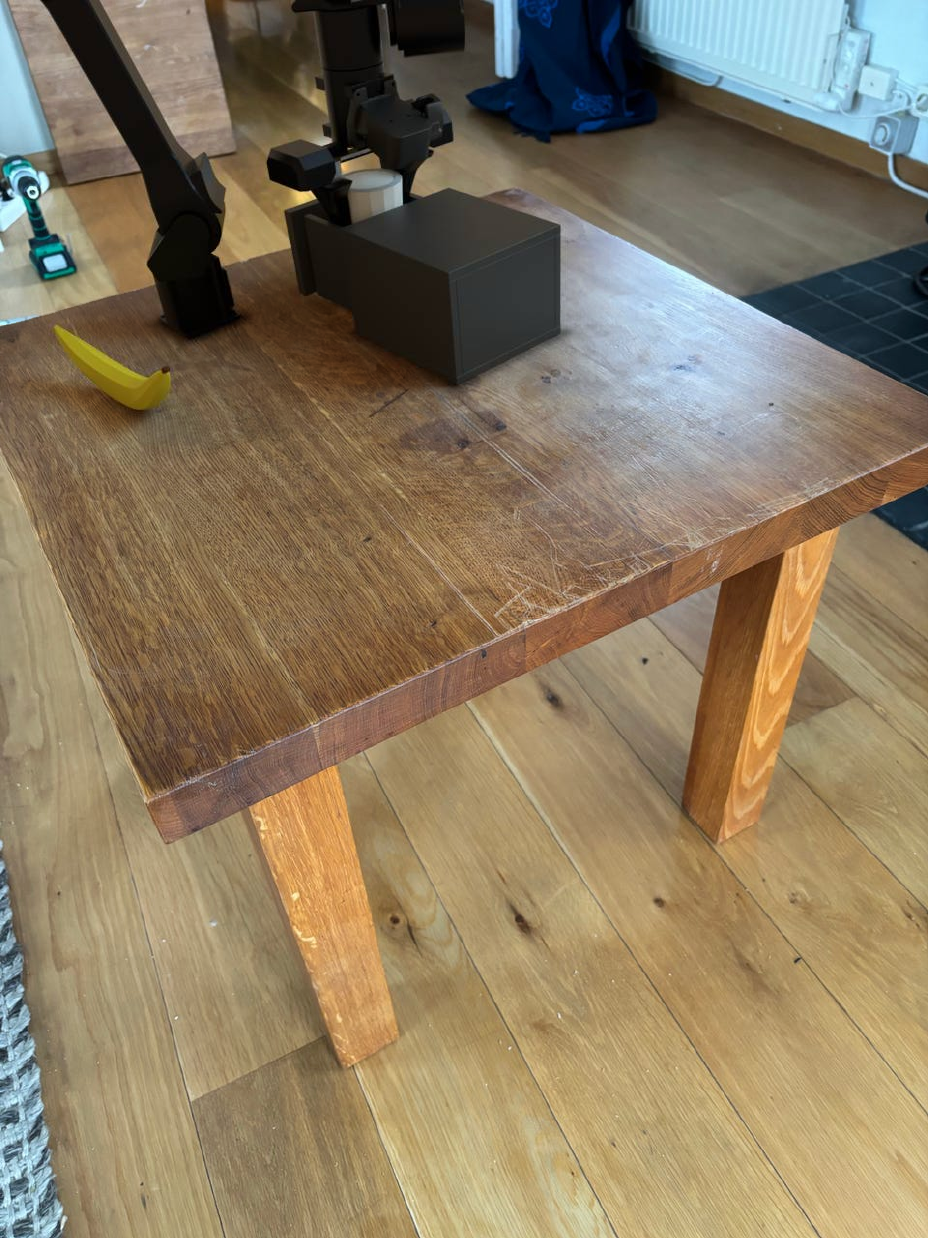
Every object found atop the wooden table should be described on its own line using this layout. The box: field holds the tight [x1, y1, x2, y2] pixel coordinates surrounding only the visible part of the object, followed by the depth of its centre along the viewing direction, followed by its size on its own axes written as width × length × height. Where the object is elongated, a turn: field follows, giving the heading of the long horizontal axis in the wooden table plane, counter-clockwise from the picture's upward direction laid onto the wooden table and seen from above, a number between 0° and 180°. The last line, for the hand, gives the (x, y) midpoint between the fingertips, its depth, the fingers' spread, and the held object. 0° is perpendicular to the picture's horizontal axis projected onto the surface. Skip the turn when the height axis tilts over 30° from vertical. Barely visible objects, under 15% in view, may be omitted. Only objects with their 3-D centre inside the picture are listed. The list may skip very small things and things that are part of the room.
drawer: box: [283, 192, 424, 313], centre depth 100 cm, size 19×12×9 cm, turn 42°
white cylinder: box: [342, 167, 403, 224], centre depth 97 cm, size 7×7×7 cm
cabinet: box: [340, 187, 562, 386], centre depth 93 cm, size 16×14×11 cm
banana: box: [53, 324, 172, 411], centre depth 89 cm, size 3×19×6 cm, turn 49°
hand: (373, 234), depth 99 cm, fingers closed on white cylinder, 6 cm apart
